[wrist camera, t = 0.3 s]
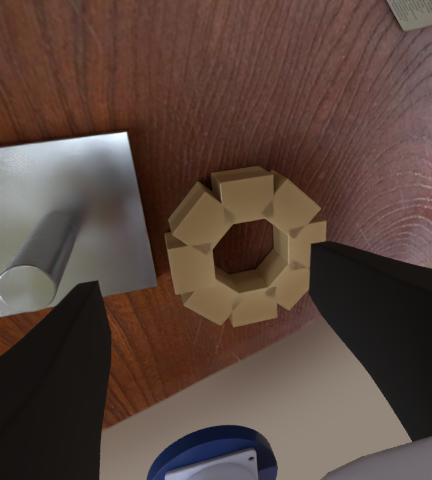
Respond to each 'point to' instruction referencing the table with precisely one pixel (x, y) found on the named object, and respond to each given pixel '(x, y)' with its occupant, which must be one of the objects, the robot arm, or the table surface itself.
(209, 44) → the table surface
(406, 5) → the box
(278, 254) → the ring
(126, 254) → the peg stand
